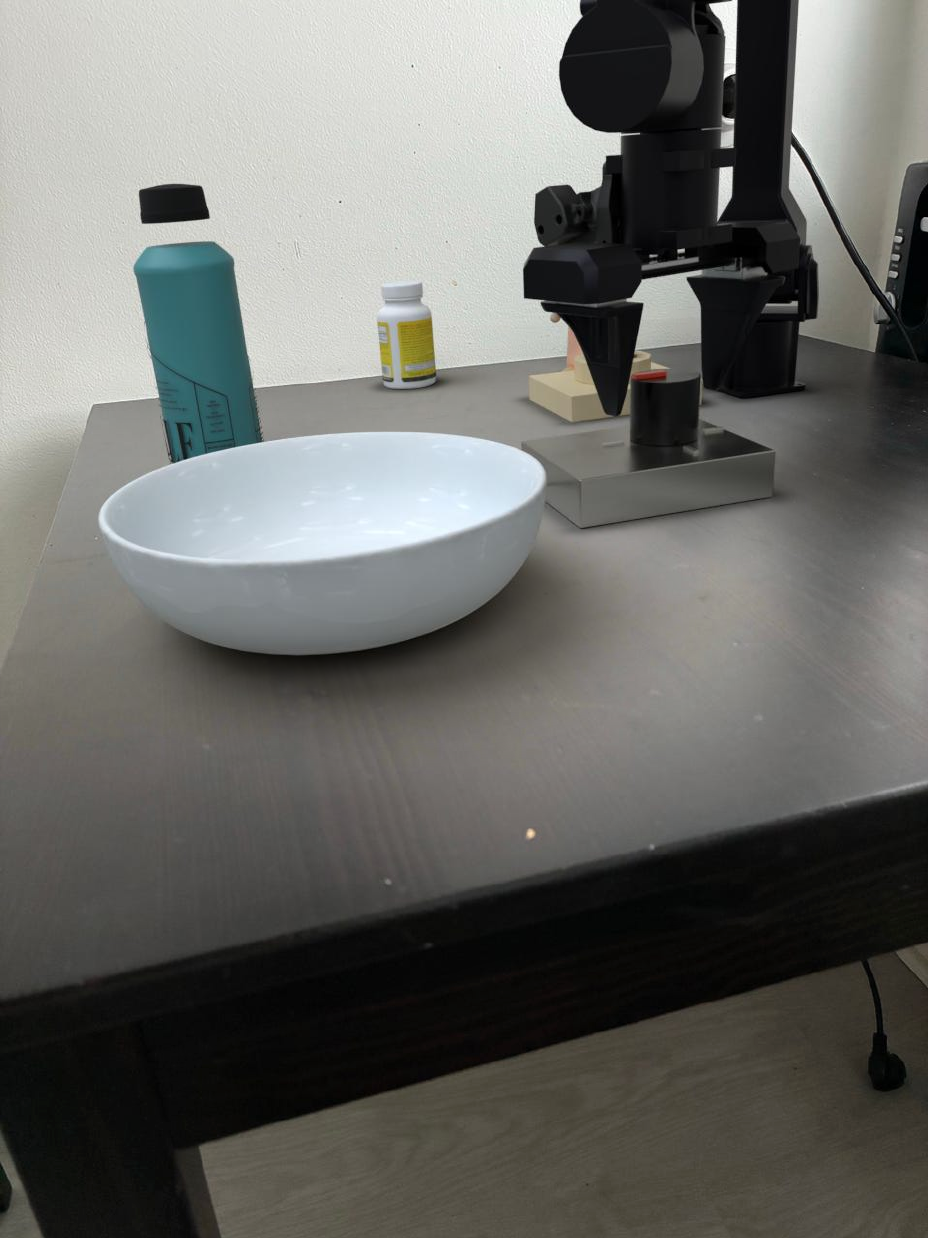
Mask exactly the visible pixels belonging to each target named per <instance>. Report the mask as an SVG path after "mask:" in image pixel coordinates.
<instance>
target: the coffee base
mask: <svg viewBox="0 0 928 1238" xmlns="http://www.w3.org/2000/svg"><path fill="white" fill-rule="evenodd" d="M653 369H671V368H670V367H667V366H664V365H661V364H658V363H657V362H656V363H655V362H653V361H652V354H651V353H649V352H646V351H643V350H635V353H634V358H633V363H632V369H631V374H630V376H631V375H632V374H634V373H637V372H640V371H645V370H653ZM562 371H563V370H562ZM562 371H555V372H549V373H540V374H539V373H538V374H531V375H528V389H529V390H528V392H529V401H532V402H534V403H535V404H537V405H538V406H541V407H543V408H545V409H547V410H548V411H550V412H552V413H554V414H555V415H558V416H559V417H561V418H563V419H565V420H566V421H568V422H571V423H576V422H584V421H591V420H599V419H605V418H613V417H615V416H610V415H607V414H605V412H604V410H603V408H602V405H601V402H600V399H599V396H598V394H597V391H596V388H595V385H594V382H593V379H592V377H591V374H590V371H589V368H588V365H587V362H586V360H585V357H584V355H583V354H581V355H577V356H576V358H575V359H574V370H571V371H563V372H562ZM702 396H703V378H701V382H700V405H702V398H703V397H702ZM620 416H630V379H629V385H628V390H627V394H626V398H625V402H624V405H623V409H622V412H621V414H620V415H619V416H618V417H620Z"/></svg>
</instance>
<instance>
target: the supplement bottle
mask: <svg viewBox="0 0 928 1238" xmlns="http://www.w3.org/2000/svg"><path fill="white" fill-rule="evenodd" d="M380 287H381V298H382V301H384V306H383V307H381V308H380V309H379V310H378V311H377V313H376V322H377V323H376V324H377V332H378V333H377V334H378V343H379V353H380V354H379V355H380V356H379V357H380V364H381V374H382V383H383V386H384V387H385V388H387V389H392V390H413V389H422V388H425V387H429V386H432V385H433V384H435V383H436V381H437V369H436V356H435V343H434V340H435V339H434V329H433V316H432V311H431V309H430V307H429V306H427V305H426V304H424V303H422V298H423V297H424V290H423V282H422V281H420V280H419V281H418V280H402V281H393V282H386V283H382V284H381V285H380Z"/></svg>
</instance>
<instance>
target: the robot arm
mask: <svg viewBox="0 0 928 1238" xmlns="http://www.w3.org/2000/svg"><path fill="white" fill-rule="evenodd" d="M732 1H733V0H580V1H579V13H580V15H581V17H580V18H579V20H577V23H576V24H575V25H574V26H573V28H572V29H571V31H570V33H569V35H568V37H567V39H566V41H565V43H564V46H563V51H562V55H561V58H560V60H559V63H558V78H559V87H560V91H561V94H562V97H563V99H564V102H565V104H566V106H567V107H568V109H569V111H570V112H571V114H572V115H573V117H575V118H576V119H577V120H578V121H579V122H580V123H581V124H582V125H584V126H585V127H587V128H590V129H592V130H594V131H597V132H602V133H607V134H621V135H620V154H611V155H605V161H604V163H603V164H602V168H601V171H602V173H601V174H602V179H601V185H600V186H598V187H596V188H595V189H593V190H590V191H579V192H578V193H576V191H575V190H574V188H573V186H571V185H570V184H559V185H548V186H546V187H545V188H543V189H541V190H539V191H538V192H536V193H535V195H534V211H533V212H534V213H533V214H534V215H533V224H534V229H535V233H536V236H537V241H538V243H539V244H540V245H542V246H537V247H536V246H535V247H533V248H532V250H531V252H530V253H529V255H528V256H527V258H526V260H525V261H524V263H523V266H522V267H523V268H522V283H523V285H522V286H523V299H524V300H535V301H540V307H541V308H542V310H543V312H546V313H551V314H552V313H556V314H557V315H558V316H559V317H560V320H562V321H563V322H564V323H565V324H566V325H567V326H569V327H570V328H571V330H572V331H573V333H574V335H575V337H576V339H577V341H578V343H579V345H580V347H581V350H582V352H583V355H584V357H585V360H586V362H587V365H588V368H589V371H590V374H591V377H592V379H593V382H594V385H595V388H596V391H597V394H598V396H599V399H600V402H601V405H602V408H603V410H604V412H605V414H607V415H610V416H614V417H620V416H619V415H620V414H621V412H622V409H623V405H624V402H625V398H626V394H627V390H628V385H629V379H630V374H631V369H632V363H633V358H634V353H635V351H636V349H637V348H636V347H637V341H638V336H639V331H640V326H641V321H642V316H643V310H644V305H645V304H644V302H638V301H629V300H628V299H633V296H634V295H635V293H636V292H637V290H638V288H639V287H640V285H641V283H642V281H643V280H648V279H649V280H650V279H655V278H660V277H662V278H663V277H669V276H674V275H679V274H686V273H691V272H692V273H693V272H698V271H701V274H697V275H691V276H686V282H687V284H688V285H689V287H690V289H691V290H692V292H693V294H694V296H695V297H696V299H697V301H698V303H699V306H700V363H701V364H700V367H701V377H702V378H701V379H702V387H703V389H705V390H708V391H721V392H724V393H726V394H730V395H732V396H735V397H738V398H744V399H746V398H752V397H753V398H754V397H760V396H768V395H774V394H783V393H789V392H796V391H804V390H806V385H807V384H806V383H804V382H800V381H798V380H796V373H797V361H798V360H797V359H798V348H799V336H800V323H805V322H806V321H811V320H816V319H818V313H819V304H820V303H819V301H820V300H819V299H820V281H819V263H818V262H817V261H816V260H815V257H814V253H813V246H812V245H811V244H807V230H808V228H807V227H808V221H807V218H806V215H805V214H804V213H803V211H802V209H801V207H800V206H799V205H800V204H799V203H798V202H797V200H796V198H795V196H794V195H793V193H792V190H791V189H790V172H791V170H790V169H791V153H792V137H793V136H792V135H793V134H792V133H793V117H794V116H793V115H794V97H795V81H796V79H795V78H796V77H795V76H796V59H797V44H798V43H797V42H798V41H797V39H798V23H799V22H798V21H799V3H800V0H737V1H736V2H737V4H736V32H735V33H736V35H735V37H736V38H735V40H736V41H735V67H734V68H735V69H734V70H735V71H734V72H735V73H734V102H733V103H734V106H733V107H734V109H733V139H732V141H733V142H732V143H733V144H732V145H733V146H732V147H722V126H723V104H724V81H725V79H724V78H725V62H726V61H725V60H726V59H725V58H726V57H725V56H726V40H727V39H726V35H725V34H726V32H725V29H724V27H723V23H722V21H721V19H720V18H719V17H718V16H717V15H716V14H715V13H714V11H713V9H712V8H711V5H712V4H721V3H730V2H732ZM722 168H732V177H731V178H732V179H731V180H732V181H731V197H730V199H729V201H728V202H727V204H726V206H725V208H724V210H723V211H722V213H721V214H720V216H719V214H718V213H719V197H720V196H719V195H720V193H719V192H720V170H721V169H722ZM718 216H719V218H718ZM792 302H797V305H790V304H792Z"/></svg>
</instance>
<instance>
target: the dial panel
mask: <svg viewBox="0 0 928 1238" xmlns="http://www.w3.org/2000/svg"><path fill="white" fill-rule="evenodd" d="M520 448H521V449H520V450H521V451H524V452H526V453H528V454H530V455H531V456H533V457H534V458H535V459H537V460H538V461H539V462H540V463H541V465H542V466H543V467H544V469H545V471H546V474H547V488H546V496H545V503H547V504H548V505H549V506H551V507H552V508H554V509H555V510H556V511H557V512H558V513H560V514H562V515H563V516H564V517H565V518H566V519H567V520H569V521H571V522H572V523H573V524H574V525H576V526H577V527H578V528H579V529H584V528H592V527H596V526H603V525H609V524H615V523H621V522H627V521H634V520H639V519H640V520H641V519H646V518H652V517H658V516H664V515H670V514H677V513H683V512H688V511H695V510H700V509H706V508H712V507H718V506H719V507H720V506H724V505H730V504H736V503H742V502H748V501H754V500H760V499H761V500H762V499H766V498H767V499H768V498H772V497H773V494H774V493H773V490H774V479H775V478H774V477H775V463H776V450H775V449H772V448H770V447H768V446H766V445H763V444H761V443H758V442H756V441H753V440H751V439H748V438H746V437H744V436H742V435H740V434H737V433H734V432H732V431H730V430H727V429H724V427H723V426H718V425H716V424H713V423H710V422H708V421H706V420H703V419H701V418H699V432H698V438H697V439H696V440H695V441H692V442H689V443H686V444H680V445H671V446H654V445H645V444H640V443H637V442H634V441H632V440H631V439H630V425H626V426H621V427H620V426H619V427H613V428H606V429H598V430H592V431H591V430H590V431H585V432H577V433H571V434H564V435H563V434H562V435H557V436H548V437H543V438H535V439H534V438H533V439H527V440H521V442H520Z"/></svg>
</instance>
